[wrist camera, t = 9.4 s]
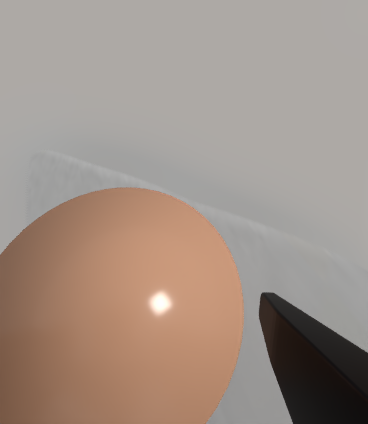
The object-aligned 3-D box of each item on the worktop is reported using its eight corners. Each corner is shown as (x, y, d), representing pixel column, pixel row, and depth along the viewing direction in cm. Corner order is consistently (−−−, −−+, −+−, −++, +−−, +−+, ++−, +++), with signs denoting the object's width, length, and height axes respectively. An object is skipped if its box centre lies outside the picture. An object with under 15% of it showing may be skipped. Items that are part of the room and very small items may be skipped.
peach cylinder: (210, 382, 14) (279, 473, 4) (114, 391, 14) (-106, 513, 4) (200, 284, 18) (220, 180, 7) (120, 291, 17) (13, 194, 7)
